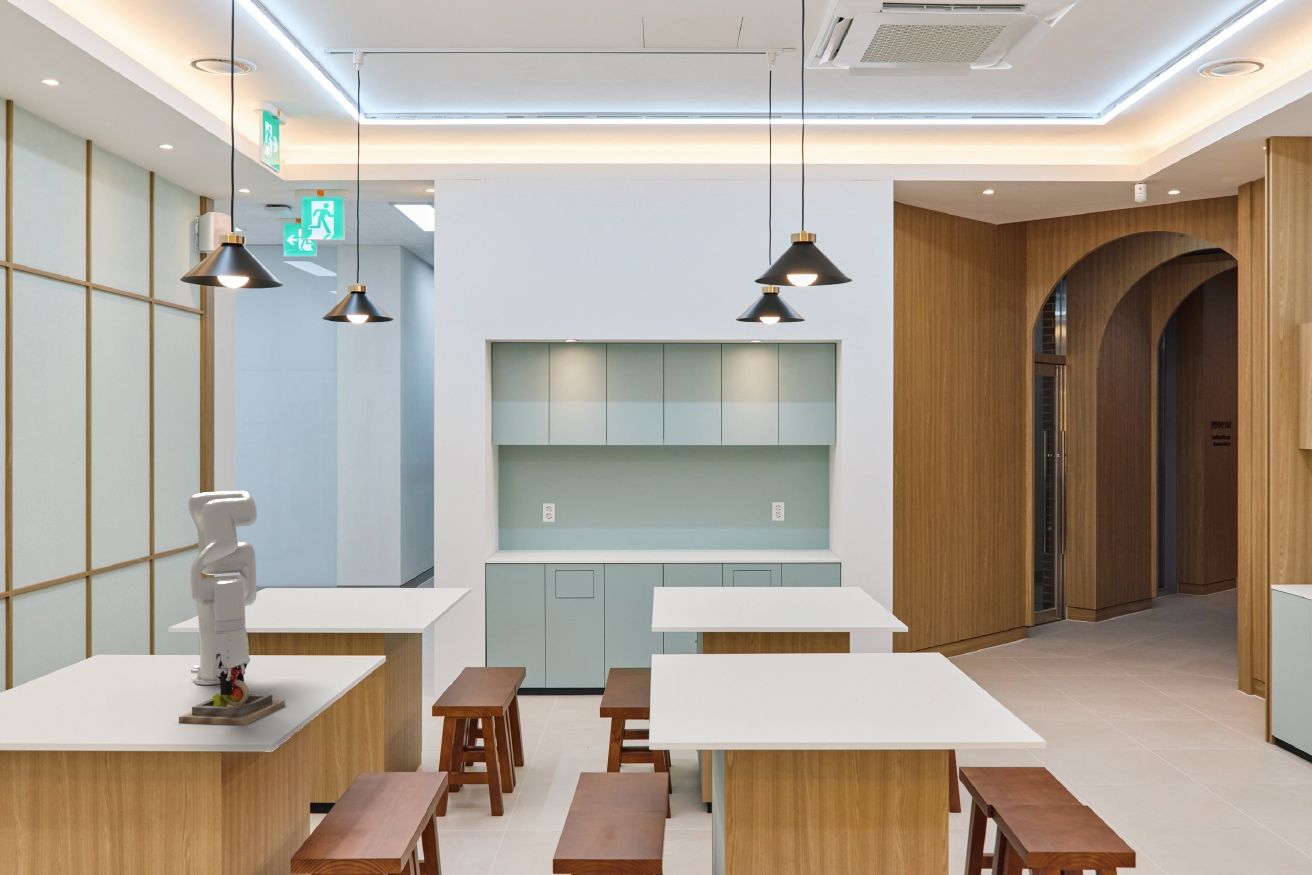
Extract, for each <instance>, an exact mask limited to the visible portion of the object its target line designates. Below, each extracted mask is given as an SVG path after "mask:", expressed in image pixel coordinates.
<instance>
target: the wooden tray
mask: <svg viewBox="0 0 1312 875" xmlns="http://www.w3.org/2000/svg"><path fill="white" fill-rule="evenodd" d="M213 705H214V701H213V699H212V698H210V699H208V700H205V701H204V702H201V703H198V704H196V705H194V706H192V707H191V711H188V712H186V713H183V714H182V715H180V716H178V723H185V724H186V723H189V724H205V725H206V724H210V725H212V724H213V725H230V726H231V725H232V726H233V725H235V726H246V725H248V724H250V723H252V722H255V721H256V720H259V719H260V718H261V719H262V718H263V717H265V716H267V715H269V714H271V713H273V712H275V711H277V710H279V709H281V708H284V707H285V706H286V700H284V699H273V694H258V693H257V694H256V693H255V694H254V693H253V694H252V693H249V698H248V700H247V701H246V702H245V703H244V706H242V707H235V706H231V705H229V704H228V703H227V707H221V706H213Z"/></svg>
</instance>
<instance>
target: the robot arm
mask: <svg viewBox="0 0 1312 875" xmlns="http://www.w3.org/2000/svg"><path fill="white" fill-rule="evenodd" d="M188 509H189V510H188V511H189V513H190V516H191V519H192V521H193V523H194V524H195V527H196V530H197V536H198V538H197V539H198V555H197V556H196V558H195V559H194V561H193V563H192V565H191V569H190V589H191V597H192V600H193V602H194V603H195V605H196V610H197V614H198V615H197V616H198V636H199V638H198V639H199V662H200V663H199V665H194V666H193V667H192V668H191V669H190V673H191V674H197V677H196V678H195V679H194V682H195V684H197V685H202V686H211V685H219V686H220V694H221V695H232V689H233V688H232V680H230V676H231V668H235V670H239V671H240V673H239V675H238V676H237V678H236V679H237V680H241V681H243V682H244V683H245V680H244V679H245V678H244V677H245V674H246V669H247V666H248V664H249V663H250V662H251V658H250V647H249V646H250V645H249V638H248V632H247V628H246V625H247V624H246V607H248V606H252V605H253V604H254V603H255V602H256V598H257V569H256V568H257V566H256V564H257V560H256V553H255V552H256V551H255V549H254V547H253V545H252V544H251V543H249V542H244V541H242V542H239V541H238V535H237V527H246V526H253V525H254V524H255V523H256V520H257V517H258V515H257V514H258V511H257V506H256V502H255V500H254V498H253V497H252V495H251V493H250V492H249V491H245V490H236V491H235V490H234V491H233V490H232V491H231V490H230V491H229V490H228V491H209V492H201V493H196V494H193V495H192V496H190V497H189V500H188ZM202 574H204V575H206V576H210V577H203V576H202ZM227 574H229V575H227ZM230 574H232V575H230ZM217 575H218V576H217ZM220 575H221V576H220ZM225 673H226V674H225ZM237 687H238V686H237ZM234 688H235V687H234Z"/></svg>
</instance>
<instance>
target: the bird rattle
mask: <svg viewBox="0 0 1312 875" xmlns="http://www.w3.org/2000/svg"><path fill="white" fill-rule="evenodd" d="M239 673H240V671H239V670H235V668H231V676H230V680H232V695H221V693H216V694H214V695H213V696H212V698H211V699H213V701H214V705H213V706H221V707H227V703H228V704H229V705H231V706H235V707H242V706H244V703H245V702H246V701H247V700H248V698H249V694H250V689H249V686H248V685H247V684H246V683H245V681H244V682H243V681H241V680H237V679H236V678H237V676H238V675H239ZM225 674H226V673H225ZM237 686H238V687H237ZM234 687H235V688H234Z"/></svg>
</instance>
